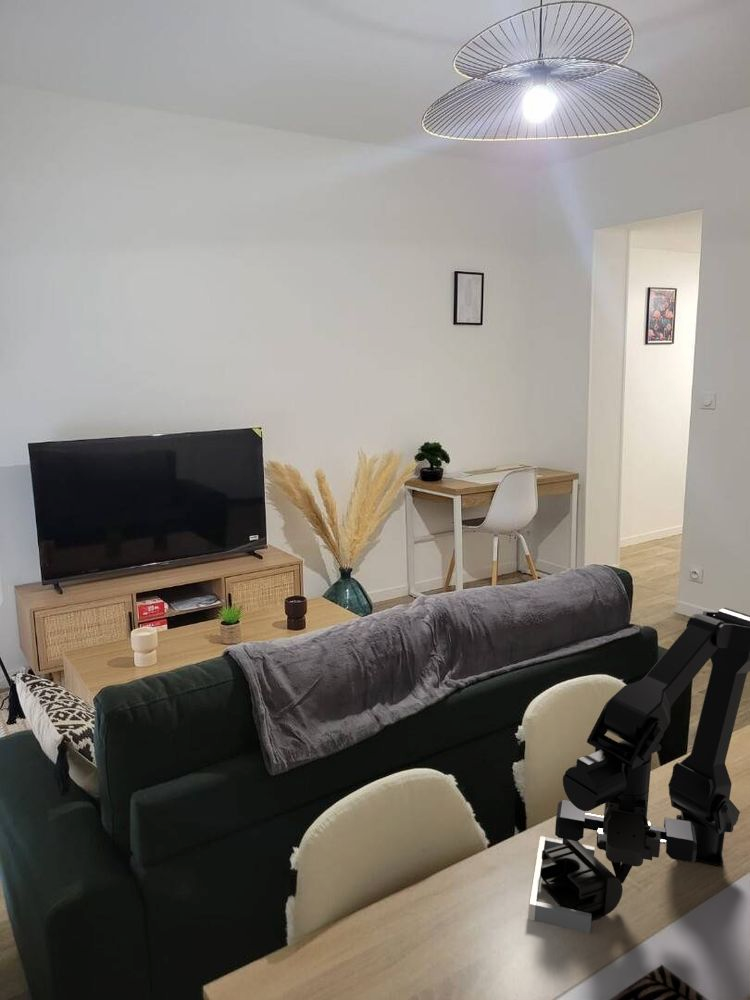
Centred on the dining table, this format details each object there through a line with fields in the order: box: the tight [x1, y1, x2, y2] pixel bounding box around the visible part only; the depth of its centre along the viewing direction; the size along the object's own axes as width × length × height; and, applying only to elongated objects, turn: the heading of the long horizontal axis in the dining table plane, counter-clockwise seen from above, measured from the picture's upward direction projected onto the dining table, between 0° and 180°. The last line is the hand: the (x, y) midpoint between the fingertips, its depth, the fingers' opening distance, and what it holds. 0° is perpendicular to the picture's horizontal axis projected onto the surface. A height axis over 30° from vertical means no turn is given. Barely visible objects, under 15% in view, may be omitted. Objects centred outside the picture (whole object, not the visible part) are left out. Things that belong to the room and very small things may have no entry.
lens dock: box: [528, 835, 596, 934], centre depth 114 cm, size 8×16×2 cm, turn 163°
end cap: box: [540, 839, 624, 923], centre depth 112 cm, size 10×7×7 cm
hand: (620, 881), depth 112 cm, fingers closed
